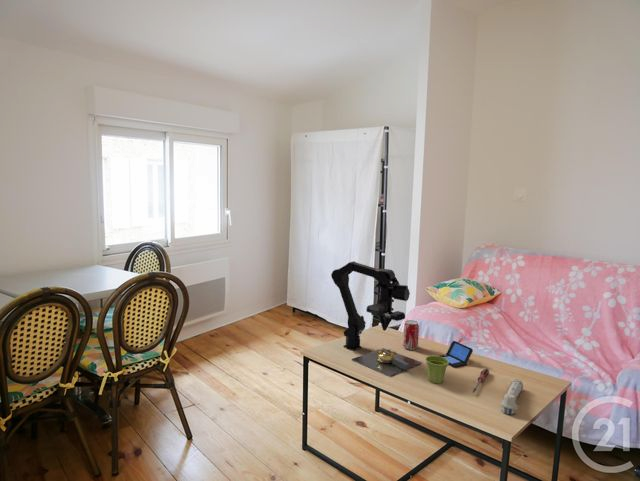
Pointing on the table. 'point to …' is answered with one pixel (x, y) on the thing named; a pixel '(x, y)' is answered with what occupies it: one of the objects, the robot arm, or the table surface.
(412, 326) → the soda can
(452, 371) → the table surface
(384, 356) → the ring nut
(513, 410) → the light grey elongated piece
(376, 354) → the plate
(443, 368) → the plant pot
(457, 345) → the handheld game console
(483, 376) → the screwdriver
